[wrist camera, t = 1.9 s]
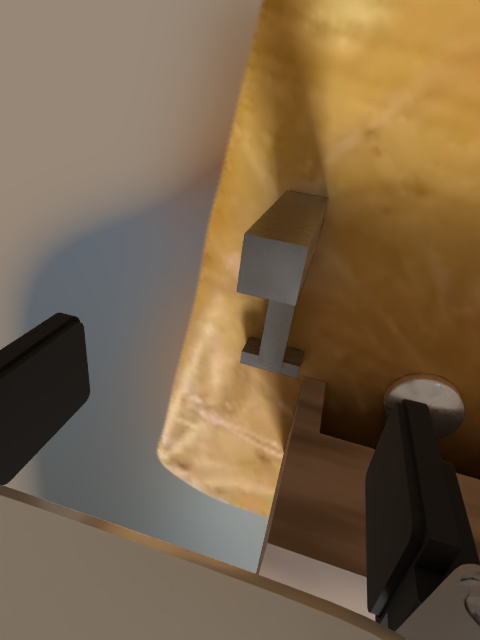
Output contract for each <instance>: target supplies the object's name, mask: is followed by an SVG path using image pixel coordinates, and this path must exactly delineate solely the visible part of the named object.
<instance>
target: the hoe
mask: <svg viewBox="0 0 480 640" xmlns="http://www.w3.org/2000/svg"><path fill="white" fill-rule="evenodd" d="M327 202H328V198H325V197H320V196H315V195H309V194H304V193H298V192H293V191H288V190H287V191H286V192H285V193H284V194H283V195H282V196H281V197H280V198H279V199H278V200H277V201H276V202H275V203H274V204H273V205H272V206H271V207H270V208H269V209H268V210H267V211H266V212H265V213H264V214H263V215H262V216H261V217H260V218H259V219H258V220H257V221H256V222H255V223H254V225H253V226H252V227H251V228H250V229H249V230H248V231H247V232H246V233H245V234H244V241H243V248H242V256H241V263H240V270H239V278H238V285H237V292H239V293H243V294H248V295H252V296H256V297H260V298H264V299H269V303H268V308H267V314H266V319H265V325H264V330H263V335H262V340H260V339H256V338H252V337H249V338H248V340H247V342H246V344H245V346H244V348H243V350H242V354H241V360H240V363H242V364H246V365H250V366H253V367H257V368H261V369H264V370H268V371H272V372H275V373H279V374H283V375H287V376H290V377H294V378H298V376H299V372H300V368H301V364H302V360H303V355H304V351H302V350H299V349H295V348H291V347H287V343H288V338H289V334H290V329H291V325H292V320H293V316H294V311H295V307H296V303H297V300H298V297H299V294H300V291H301V289H302V286H303V283H304V280H305V277H306V274H307V271H308V269H309V266H310V263H311V260H312V257H313V254H314V251H315V249H316V246H317V243H318V240H319V236H320V232H321V228H322V224H323V219H324V215H325V211H326V207H327Z"/></svg>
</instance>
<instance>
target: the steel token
mask: <svg viewBox="0 0 480 640" xmlns="http://www.w3.org/2000/svg"><path fill="white" fill-rule="evenodd" d="M403 399H409V400H413V401H417V402H421V403H425V404H427V405H428V407H429V412H430V416H431V420H432V424H433V429H434V433H435V437H436V439H440V438H443V437H446V436H448V435H450V434H451V433H453V432H454V431H455V430H457V429H458V427H459V426H460V425H461V423H462V421H463V419H464V414H465V410H464V405H463V402H462V400H461V397H460V394H459V392H458V390H457V388H456V387H455V386H454V385H453V384H452V383H451V382H450V381H448V380H447V379H445V378H443V377H441V376H438V375H435V374H430V373H413V374H408V375H405V376H403V377H401V378H399V379H397V380H395V381H394V382H393V383H392V384H391V385H390V386H389V387H388V388H387V390H386V392H385V395H384V413H385V417H386V420H387V419H388V416H389V414H390V411H391V409H392V406H393V404H394V403H395V402H398V403H401V402H402V401H403Z"/></svg>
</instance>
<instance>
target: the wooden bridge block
mask: <svg viewBox="0 0 480 640" xmlns="http://www.w3.org/2000/svg"><path fill="white" fill-rule="evenodd" d="M325 387H326V382H323V381H320V380H316V379H312V378H309V377H305V376H304V378H303V382H302V386H301V390H300V394H299V397H298V401H297V405H296V409H295V413H294V416H293V420H292V424H291V428H290V432H289V435H288V439H287V443H286V447H285V451H284V455H283V459H282V463H281V468H280V472H279V477H278V481H277V485H276V490H275V494H274V498H273V503H272V507H271V511H270V516H269V520H268V524H267V529H266V533H265V538H264V542H263V546H262V551H261V555H260V559H259V564H258V569H257V573H256V574H258V575H261V576H263V577H266V578H269V579H272V580H274V581H277V582H280V583H282V584H285V585H288V586H290V587H293V588H296V589H298V590H301V591H304V592H306V593H309V594H312V595H314V596H317V597H320V598H322V599H325V600H328V601H330V602H333V603H335V604H337V605H340V606H342V607H344V608H347V609H349V610H352V611H354V612H356V613H359V614H361V615H363V616H366V617H368V618H370V619H372V620H373V621H375V614H372V613H369V612H368V608H367V569H366V505H365V479H366V473H367V470H368V467H369V464H370V462H371V459H372V457H373V454H374V452H375V449H372V448H369V447H366V446H362V445H359V444H355V443H352V442H348V441H345V440H342V439H338V438H335V437H331V436H328V435H324V434H321V433H319V432H320V425H321V417H322V410H323V402H324V395H325ZM456 475H457V479H458V483H459V486H460V490H461V494H462V497H463V501H464V505H465V508H466V512H467V516H468V520H469V523H470V527H471V531H472V534H473V538H474V542H475V546H476V549H477V553H478V557H479V560H480V480H479V479H476V478H472V477H469V476H465V475H462V474H458V473H456Z"/></svg>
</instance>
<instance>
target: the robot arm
mask: <svg viewBox="0 0 480 640" xmlns="http://www.w3.org/2000/svg"><path fill="white" fill-rule="evenodd" d="M89 394H90V385H89V374H88V364H87V354H86V344H85V333H84V326H83V324H82V323H80V320H79V318H77V317H75V316H71V315H67V314H63V313H57V314H55V315H53V316H52V317H50V318H49V319H47V320H46V321H44V322H43V323H41V324H39V325H38V326H36V327H35V328H34V329H32V330H30V331H29V332H27V333H26V334H24V335H23V336H22V337H20V338H18V339H17V340H15V341H13V342H12V343H10V344H9V345H7V346H6V347H4V348H3V349H2V350H0V640H480V560H479V557H478V553H477V549H476V546H475V542H474V538H473V534H472V531H471V527H470V523H469V520H468V516H467V512H466V508H465V505H464V501H463V497H462V494H461V490H460V486H459V483H458V479H457V475H456V471H455V469H454V466H453V465H452V463H451V462H448V461H444V460H441V458H440V454H439V450H438V445H437V441H436V437H435V433H434V429H433V424H432V420H431V416H430V412H429V407H428V405H427V404H425V403H421V402H417V401H413V400H409V399H403V401H402V402H401V403H398V402H395V403H394V404H393V406H392V409H391V411H390V414H389V416H388V419H387V422H386V424H385V427H384V429H383V432H382V434H381V437H380V439H379V442H378V444H377V447H376V449H375V452H374V454H373V457H372V459H371V462H370V464H369V467H368V470H367V473H366V479H365V505H366V569H367V608H368V612H369V613H372V614H375V621H373V620H372V619H370V618H368V617H366V616H363V615H361V614H359V613H356V612H354V611H352V610H349V609H347V608H344V607H342V606H340V605H337V604H335V603H333V602H330V601H328V600H325V599H322V598H320V597H317V596H314V595H312V594H309V593H306V592H304V591H301V590H298V589H296V588H293V587H290V586H288V585H285V584H282V583H280V582H277V581H274V580H272V579H269V578H266V577H263V576H261V575H258V574H255V573H252V572H249V571H247V570H244V569H241V568H238V567H235V566H232V565H229V564H227V563H224V562H221V561H218V560H215V559H213V558H210V557H207V556H204V555H201V554H199V553H196V552H193V551H190V550H187V549H184V548H181V547H179V546H176V545H173V544H170V543H167V542H165V541H162V540H159V539H156V538H153V537H150V536H147V535H144V534H142V533H139V532H136V531H133V530H130V529H127V528H124V527H122V526H119V525H116V524H113V523H110V522H107V521H104V520H102V519H99V518H96V517H93V516H90V515H87V514H84V513H81V512H78V511H75V510H72V509H70V508H67V507H64V506H61V505H58V504H55V503H52V502H50V501H47V500H44V499H41V498H38V497H35V496H32V495H29V494H26V493H23V492H20V491H17V490H14V489H11V488H8V487H6V486H3V485H5V484H7V483H8V482H9V481H11V480H12V479H13V478H14V477H15V476H16V474H17V473H18V472H19V471H20V470H21V469H22V468H23V467H24V466H25V465H26V464H27V463H28V462H29V461H30V460H31V459H32V458H33V456H35V454H37V452H38V451H39V450H40V449H41V448H42V447H43V446H44V445H45V444H46V443H47V442H48V441H49V440H50V439H51V438H52V437H53V436H54V435H55V434H56V433H57V432H58V430H59V429H60V428H61V427H62V426H63V425H64V424H65V423H66V422H67V421H68V420H69V419H70V418H71V417H72V416H73V415H74V413H76V412H77V411H78V409H79V408H80V407H81V406H82V405H83V404H84V403H85V402H86V401H87V399H88V397H89Z"/></svg>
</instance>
